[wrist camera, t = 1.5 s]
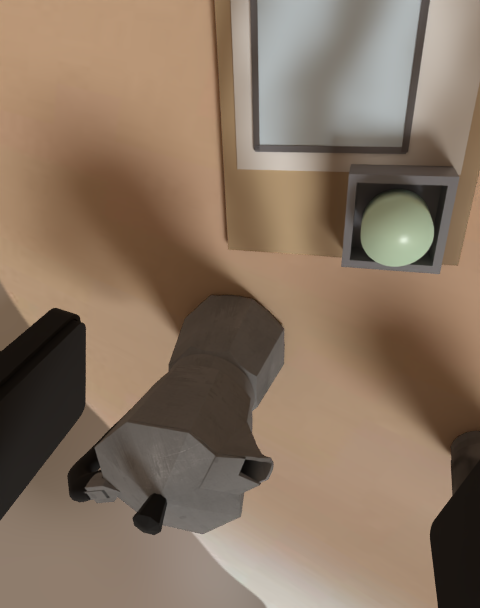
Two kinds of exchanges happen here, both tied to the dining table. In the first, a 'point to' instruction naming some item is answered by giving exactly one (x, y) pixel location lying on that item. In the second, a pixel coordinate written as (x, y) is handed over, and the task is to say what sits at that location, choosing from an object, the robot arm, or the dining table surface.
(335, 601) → the dining table surface
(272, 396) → the dining table surface
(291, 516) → the dining table surface
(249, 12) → the clipboard
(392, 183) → the button housing
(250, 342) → the coffeepot
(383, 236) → the button
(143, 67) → the dining table surface
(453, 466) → the beverage cup
